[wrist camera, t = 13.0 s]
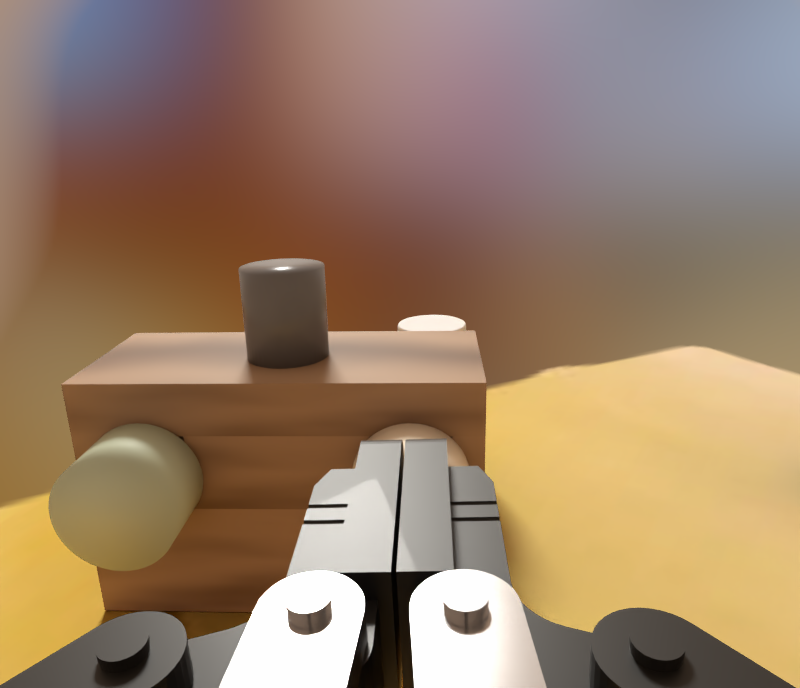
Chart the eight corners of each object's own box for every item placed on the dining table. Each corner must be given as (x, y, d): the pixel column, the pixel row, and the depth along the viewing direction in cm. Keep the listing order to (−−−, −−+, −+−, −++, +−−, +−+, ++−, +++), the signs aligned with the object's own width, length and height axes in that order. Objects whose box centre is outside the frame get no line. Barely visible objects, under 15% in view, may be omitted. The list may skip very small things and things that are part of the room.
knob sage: (184, 571, 25) (167, 458, 23) (61, 570, 25) (37, 458, 24) (259, 437, 36) (251, 354, 34) (172, 437, 36) (161, 355, 35)
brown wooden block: (481, 615, 29) (486, 382, 25) (105, 610, 30) (60, 384, 26) (472, 524, 36) (474, 330, 32) (164, 522, 36) (135, 333, 33)
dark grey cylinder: (341, 359, 28) (337, 269, 27) (260, 374, 27) (251, 278, 26) (312, 338, 32) (307, 255, 30) (238, 350, 30) (229, 264, 29)
